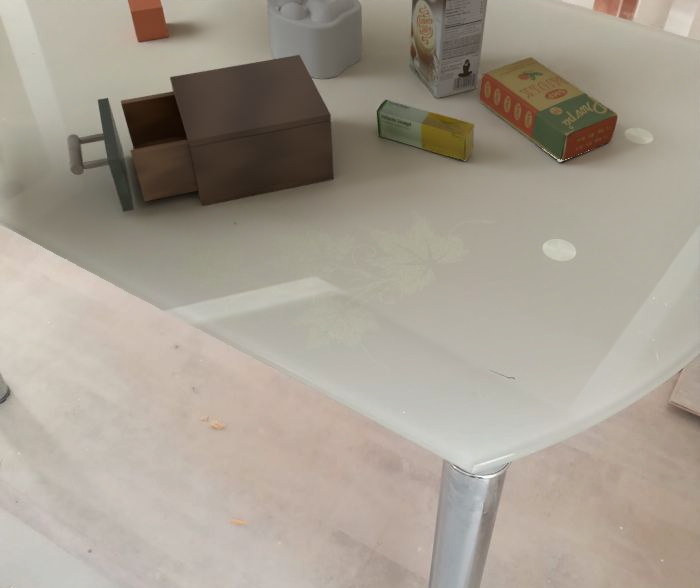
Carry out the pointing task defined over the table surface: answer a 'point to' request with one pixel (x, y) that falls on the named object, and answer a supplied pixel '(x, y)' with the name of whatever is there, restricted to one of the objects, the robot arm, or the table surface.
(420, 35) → the coffee box
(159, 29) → the block
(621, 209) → the table surface
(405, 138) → the medication box
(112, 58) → the table surface
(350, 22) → the lumpy-topped squat cylinder
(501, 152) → the table surface
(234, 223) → the table surface
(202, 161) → the cabinet
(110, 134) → the drawer
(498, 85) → the carton
